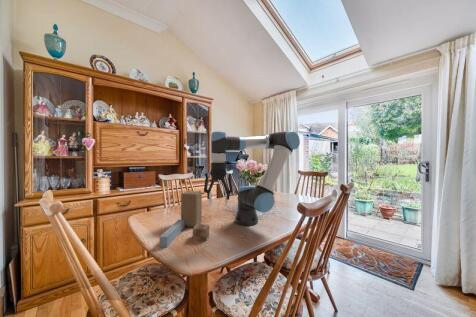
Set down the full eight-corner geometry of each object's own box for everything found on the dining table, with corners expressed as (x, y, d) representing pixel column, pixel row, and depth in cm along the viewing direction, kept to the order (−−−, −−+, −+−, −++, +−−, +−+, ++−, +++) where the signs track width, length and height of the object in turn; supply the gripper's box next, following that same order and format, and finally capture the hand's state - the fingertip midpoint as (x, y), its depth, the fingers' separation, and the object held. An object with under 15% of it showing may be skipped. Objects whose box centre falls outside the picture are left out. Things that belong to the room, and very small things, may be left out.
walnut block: (209, 235, 109) (209, 224, 108) (206, 241, 102) (206, 229, 101) (196, 235, 109) (196, 224, 109) (192, 240, 102) (192, 229, 102)
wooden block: (195, 227, 119) (195, 194, 119) (180, 226, 121) (180, 193, 121) (202, 222, 129) (202, 191, 128) (187, 220, 131) (187, 190, 130)
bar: (184, 228, 118) (184, 219, 118) (167, 247, 94) (167, 236, 94) (178, 228, 119) (178, 219, 118) (159, 247, 95) (159, 236, 94)
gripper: (238, 161, 107) (238, 204, 107) (200, 161, 108) (200, 203, 109) (237, 162, 99) (237, 208, 100) (197, 162, 101) (196, 207, 101)
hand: (218, 205), depth 104 cm, fingers open, 8 cm apart
